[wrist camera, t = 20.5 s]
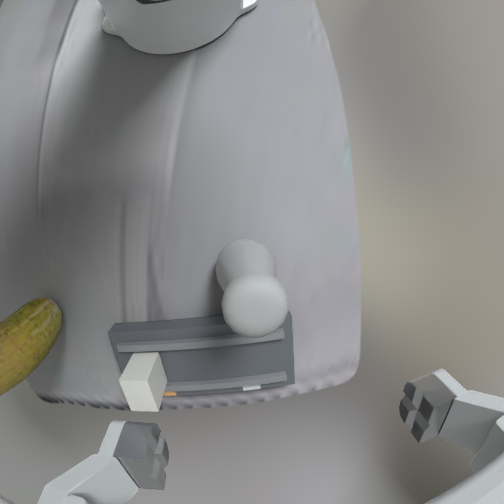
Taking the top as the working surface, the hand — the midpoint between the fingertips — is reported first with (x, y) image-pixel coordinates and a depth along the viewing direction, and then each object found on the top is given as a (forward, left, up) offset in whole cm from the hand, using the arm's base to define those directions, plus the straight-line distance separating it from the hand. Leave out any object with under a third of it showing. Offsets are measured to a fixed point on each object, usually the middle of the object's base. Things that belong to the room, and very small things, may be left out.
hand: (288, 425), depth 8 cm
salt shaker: (0, 0, -23) cm, 23 cm away
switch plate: (+10, -6, -23) cm, 26 cm away
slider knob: (+10, -12, -20) cm, 25 cm away
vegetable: (+4, -25, -23) cm, 34 cm away
